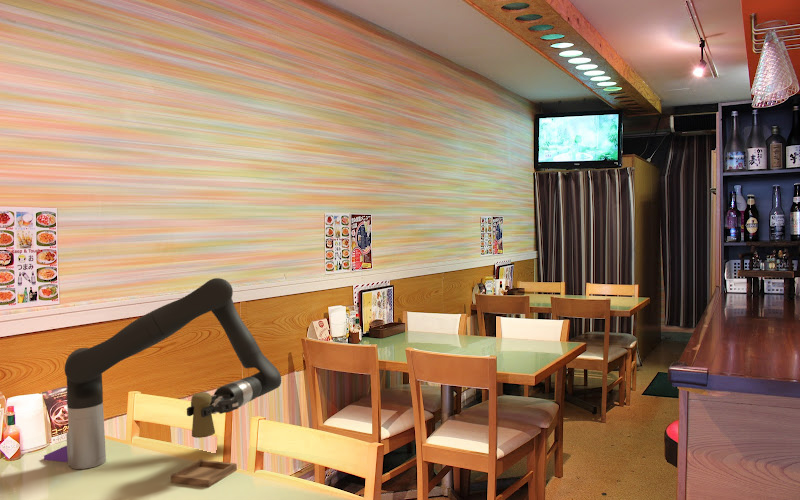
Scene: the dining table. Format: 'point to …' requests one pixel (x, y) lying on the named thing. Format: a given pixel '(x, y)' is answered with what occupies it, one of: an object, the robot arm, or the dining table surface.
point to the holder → (204, 473)
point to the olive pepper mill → (201, 424)
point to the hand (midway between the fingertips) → (195, 412)
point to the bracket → (58, 455)
